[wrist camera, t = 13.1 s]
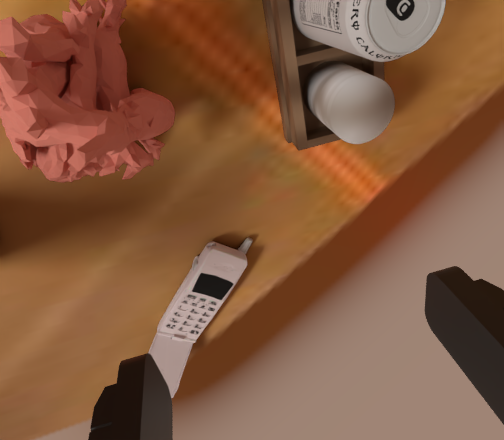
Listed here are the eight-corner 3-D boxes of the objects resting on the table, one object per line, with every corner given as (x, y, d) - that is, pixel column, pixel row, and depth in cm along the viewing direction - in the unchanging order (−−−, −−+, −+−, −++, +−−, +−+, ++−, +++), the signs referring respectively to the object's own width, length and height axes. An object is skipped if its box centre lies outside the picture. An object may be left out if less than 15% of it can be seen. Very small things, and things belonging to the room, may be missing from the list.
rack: (371, 115, 43) (417, 145, 35) (284, 138, 42) (311, 173, 34) (360, -199, 29) (432, -268, 21) (234, -170, 29) (259, -230, 21)
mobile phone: (130, 393, 51) (220, 251, 41) (133, 356, 56) (214, 222, 46) (172, 400, 53) (266, 267, 44) (172, 364, 58) (256, 238, 49)
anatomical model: (46, 179, 39) (-93, 280, 21) (-3, 12, 34) (-253, -50, 15) (189, 165, 40) (177, 249, 22) (167, 1, 35) (124, -70, 16)
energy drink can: (321, 53, 37) (400, 86, 24) (274, 9, 34) (334, 21, 22) (365, -5, 35) (475, -2, 22) (318, -56, 32) (413, -84, 20)
